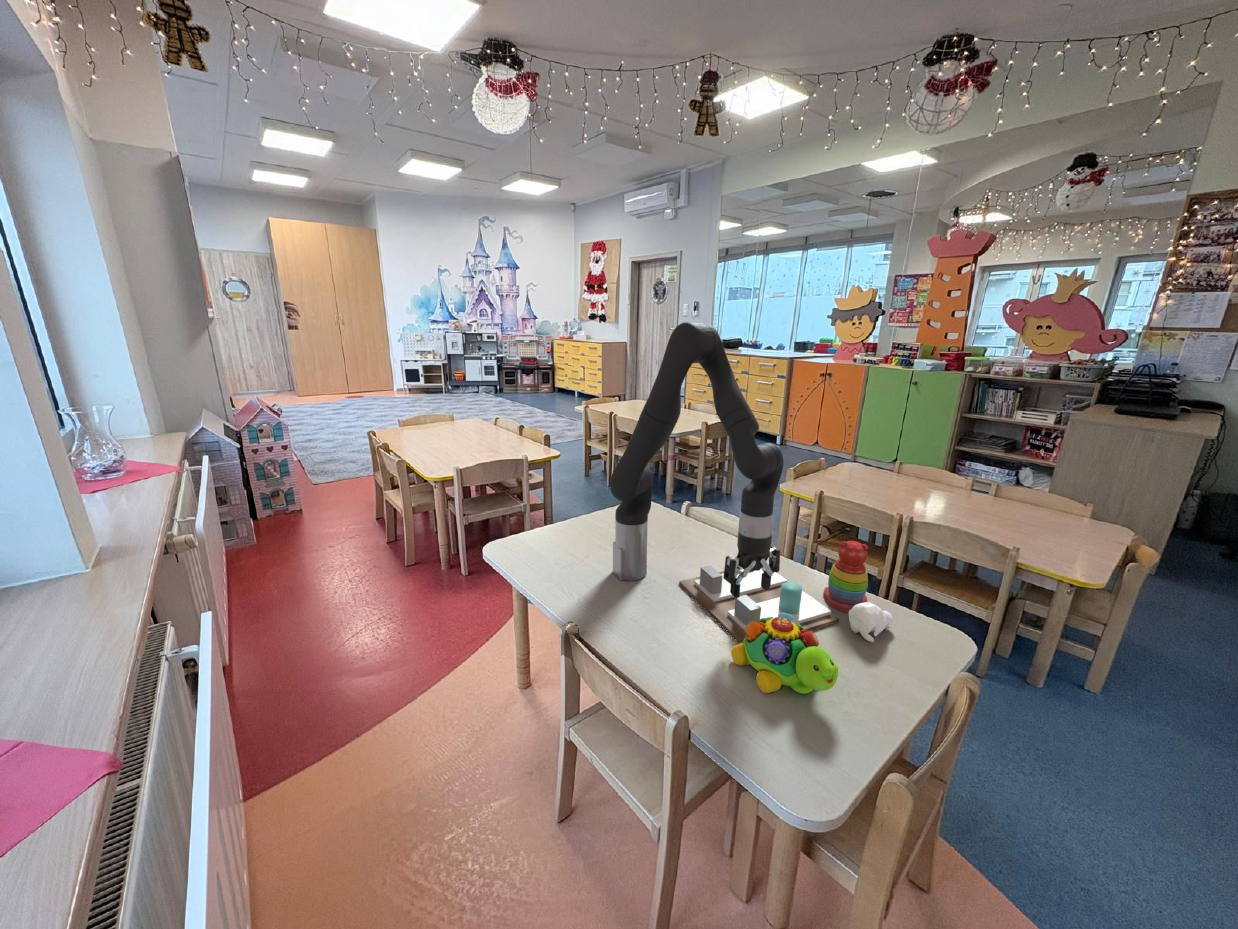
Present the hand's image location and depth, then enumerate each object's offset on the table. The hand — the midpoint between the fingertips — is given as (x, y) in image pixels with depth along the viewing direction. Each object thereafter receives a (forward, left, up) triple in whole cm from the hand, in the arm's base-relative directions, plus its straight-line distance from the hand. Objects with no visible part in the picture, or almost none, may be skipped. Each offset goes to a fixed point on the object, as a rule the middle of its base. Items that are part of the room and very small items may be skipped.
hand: (750, 592), depth 119 cm
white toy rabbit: (+27, -13, -10) cm, 31 cm away
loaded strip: (+10, 0, -9) cm, 13 cm away
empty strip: (+10, +16, -9) cm, 21 cm away
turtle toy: (-2, -17, -10) cm, 20 cm away
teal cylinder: (+13, 0, -8) cm, 15 cm away
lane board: (+9, +9, -10) cm, 16 cm away
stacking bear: (+31, -1, -10) cm, 32 cm away
